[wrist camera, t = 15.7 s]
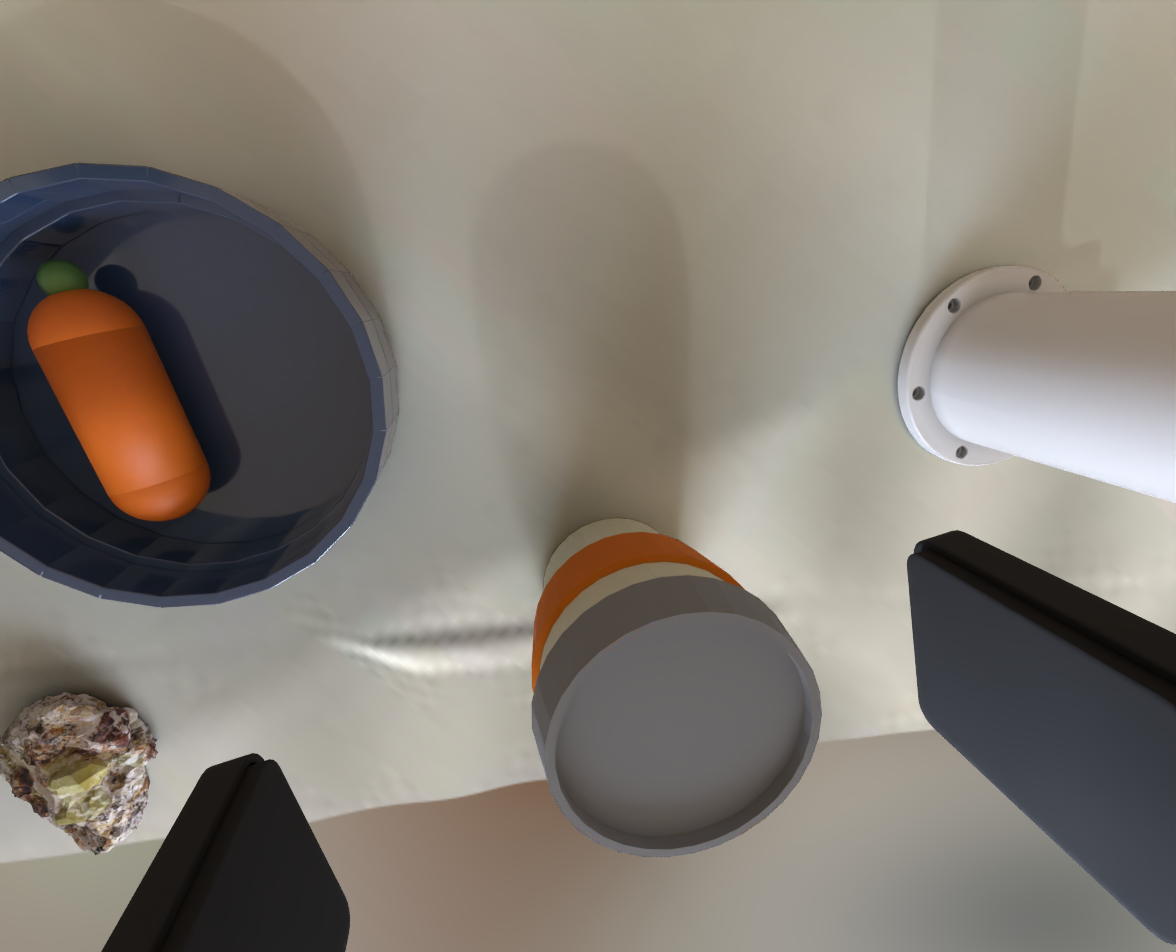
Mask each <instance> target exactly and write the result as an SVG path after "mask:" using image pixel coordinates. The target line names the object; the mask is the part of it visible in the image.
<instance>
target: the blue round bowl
mask: <svg viewBox="0 0 1176 952" xmlns="http://www.w3.org/2000/svg"><path fill="white" fill-rule="evenodd" d="M50 260H65V261H69V262H71V263H73V264H75V265H77V266H78V267H79V268H81V269H82V270H83V271H84V273H85V274H86V276H87V278H88V282H89V287H88V289H92V290H97V291H102V292H105V293H107V294H110V295H112V296H115V297H116V298H118V299H120V300H122V301H123V302H125V303H126V304H127V305H128V306H130V307H131V308H132V309H133V310H134V311H135V312H136V313H137V315H138V316H139V317H140V318H141V320H142V322H143V323H144V325H145V327H146V329H147V331H148V333H149V335H150V337H151V340H152V342H153V344H154V346H155V348H156V351H157V353H158V355H159V357H160V359H161V361H162V364H163V366H164V368H165V370H166V372H167V375H168V377H169V379H170V381H171V383H172V385H173V388H174V390H175V392H176V394H177V396H178V398H179V401H180V403H181V405H182V407H183V409H184V412H185V414H186V416H187V418H188V420H189V422H190V425H191V427H192V429H193V431H194V433H195V436H196V438H197V440H198V442H199V444H200V446H201V449H202V451H203V453H204V455H205V457H206V460H207V462H208V465H209V468H210V475H211V481H210V487H209V490H208V492H207V495H206V496H205V498H204V499H203V501H202V502H201V503H200V504H199V505H198V506H197V507H196V508H195V509H194V510H192V511H191V512H189V513H188V514H186V515H184V516H182V517H179V518H176V519H173V520H167V521H146V520H142V519H138V518H135V517H133V516H130V515H128V514H127V513H125V512H123V511H122V510H120V509H119V508H118V507H117V506H116V505H115V504H114V503H113V502H112V501H111V499H110V498H109V496H108V495H107V493H106V491H105V489H104V487H103V485H102V483H101V481H100V480H99V478H98V476H97V474H96V472H95V470H94V468H93V466H92V464H91V462H90V460H89V459H88V457H87V455H86V453H85V451H84V449H83V447H82V445H81V443H80V441H79V439H78V437H77V436H76V434H75V432H74V430H73V428H72V426H71V424H70V422H69V420H68V418H67V416H66V414H65V413H64V411H63V409H62V407H61V405H60V403H59V401H58V399H57V397H56V395H55V393H54V391H53V390H52V388H51V386H50V384H49V382H48V380H47V378H46V376H45V374H44V372H43V370H42V368H41V367H40V365H39V363H38V361H37V359H36V357H35V355H34V353H33V351H32V349H31V346H30V344H29V341H28V334H27V328H28V321H29V318H30V316H31V313H32V311H33V310H34V309H35V307H36V306H37V305H38V303H40V302H41V301H42V300H44V299H45V298H46V297H48V295H47V294H46V293H44V292H43V291H42V290H41V288H40V287H39V285H38V283H37V279H36V274H37V271H38V269H39V267H40V266H41V265H42V264H43V263H45V262H47V261H50ZM398 415H399V397H398V382H397V367H396V362H395V359H394V356H393V353H392V351H391V348H390V345H389V342H388V339H387V336H386V333H385V330H384V327H383V324H382V321H381V319H380V317H379V315H378V313H377V312H376V310H375V309H374V307H373V306H372V304H371V303H370V301H369V300H368V298H367V296H366V295H365V293H364V292H363V290H362V289H361V287H360V286H359V284H358V283H357V281H356V280H355V278H354V276H353V275H352V274H351V272H350V271H349V270H347V269H346V268H345V267H344V266H343V265H342V264H341V263H340V262H339V261H338V260H337V259H336V258H335V257H334V256H333V255H332V254H331V253H330V252H328V251H327V250H326V249H325V248H324V247H323V246H322V245H321V244H320V243H319V242H318V241H317V240H316V239H315V238H314V237H313V236H311V235H310V234H309V233H307V232H305V231H303V230H302V229H300V228H298V227H297V226H295V225H293V224H291V223H290V222H288V221H286V220H285V219H283V218H281V217H279V216H278V215H276V214H274V213H273V212H271V211H269V210H267V209H266V208H264V207H262V206H260V205H258V204H255V203H253V202H251V201H248V200H246V199H244V198H241V197H239V196H237V195H234V194H232V193H229V192H227V191H225V190H222V189H220V188H218V187H215V186H212V185H208V184H205V183H202V182H199V181H195V180H192V179H189V178H185V177H182V176H179V175H176V174H172V173H169V172H166V171H162V170H159V169H156V168H153V167H147V166H134V165H114V164H95V163H72V164H68V165H63V166H59V167H54V168H50V169H45V170H41V171H36V172H32V173H27V174H23V175H18V176H14V177H10V178H8V179H5V180H4V181H2V182H0V551H1V552H3V553H4V554H6V555H8V556H9V557H11V558H12V559H14V560H16V561H17V562H19V563H20V564H22V565H24V566H25V567H27V568H28V569H30V570H31V571H33V572H35V573H36V574H38V575H41V576H42V577H44V578H47V579H49V580H52V581H55V582H58V583H60V584H63V585H66V586H68V587H71V588H74V589H76V590H79V591H82V592H84V593H87V594H90V595H93V596H95V597H98V598H100V597H101V598H102V599H108V600H115V601H121V602H128V603H134V604H141V605H147V606H154V607H161V608H163V607H179V606H196V605H212V604H220V603H224V602H227V601H230V600H234V599H237V598H241V597H244V596H248V595H251V594H254V593H258V592H261V591H265V590H268V589H271V588H273V587H275V586H276V585H278V584H280V583H282V582H283V581H285V580H287V579H288V578H290V577H292V576H294V575H295V574H297V573H299V572H300V571H302V570H304V569H306V568H307V567H309V566H311V565H312V564H314V563H316V561H318V560H319V559H320V558H321V557H322V556H323V555H324V554H325V553H326V552H327V551H328V550H329V549H330V548H331V547H332V546H333V545H334V544H335V543H336V542H337V541H338V540H339V539H340V538H341V537H342V535H343V534H344V533H345V532H346V531H347V530H348V529H349V528H350V527H351V526H352V525H353V523H354V521H355V519H356V517H357V516H358V514H359V512H360V510H361V508H362V506H363V504H364V503H365V501H366V499H367V497H368V495H369V493H370V492H371V490H372V488H373V486H374V484H375V482H376V480H377V478H378V477H379V475H380V473H381V471H382V469H383V467H384V465H385V463H386V461H387V459H388V457H389V455H390V453H391V448H392V443H393V439H394V434H395V429H396V425H397V420H398Z"/></svg>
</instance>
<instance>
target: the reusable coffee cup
mask: <svg viewBox="0 0 1176 952" xmlns="http://www.w3.org/2000/svg"><path fill="white" fill-rule="evenodd" d="M532 688H533V692H534V695H533V700H532V729H533V733H534V736H535V740H536V744H537V748H538V751H539V755H540V758H541V761H542V765H543V768H544V771H545V774H546V778H547V781H548V784H549V788H550V791H551V794H552V796H553V798H554V800H555V801H556V803H557V805H558V806H559V808H560V810H561V812H562V814H563V815H564V816H565V817H566V818H567V819H568V820H569V821H570V823H572V825H573V826H574V827H575V828H576V829H577V830H578V831H579V832H581V833H582V834H584V835H585V836H587V837H588V838H590V839H592V840H593V841H594V842H596V843H597V844H600V845H603V846H605V847H607V848H610V849H613V850H615V851H617V852H621V853H626V854H631V855H637V856H642V857H671V856H678V855H685V854H692V853H696V852H699V851H702V850H706V849H709V848H712V847H715V846H718V845H721V844H723V843H725V842H727V841H729V840H731V839H733V838H735V837H737V836H739V835H741V834H743V833H745V832H746V831H748V830H749V829H750V828H752V827H753V826H755V825H756V824H758V823H759V822H761V821H762V820H764V819H765V818H766V817H767V816H768V815H769V814H770V813H771V812H773V810H775V809H776V808H777V807H778V806H779V805H780V804H781V803H782V802H783V801H784V800H785V799H786V798H787V796H788V795H789V794H790V793H791V791H792V790H793V789H794V787H795V786H796V785H797V783H798V782H799V781H800V779H801V777H802V776H803V774H804V772H805V770H806V768H807V766H808V765H809V763H810V761H811V759H812V756H813V753H814V750H815V747H816V744H817V741H818V738H819V731H820V724H821V716H822V712H821V701H820V691H819V688H818V685H817V682H816V679H815V676H814V673H813V670H812V669H811V667H810V665H809V664H808V662H807V661H806V659H805V657H804V656H803V654H802V653H801V651H800V650H799V648H798V647H797V645H796V644H795V642H794V641H793V639H792V638H791V636H790V635H789V633H788V632H787V631H786V629H785V628H784V626H783V625H782V623H781V622H780V620H779V619H778V617H777V616H776V614H775V613H774V612H773V611H772V610H770V609H769V608H768V607H767V606H766V605H765V604H764V603H763V602H762V601H761V600H760V599H759V598H758V597H756V596H754V595H753V594H751V593H749V592H748V591H746V590H745V589H744V588H743V587H742V586H741V585H740V584H739V583H738V582H737V581H736V580H735V579H733V578H732V577H731V576H730V575H729V574H728V573H727V572H725V571H724V570H722V569H721V568H719V567H718V566H717V565H715V564H714V563H712V562H711V561H710V560H708V559H707V558H705V557H704V556H702V555H701V554H700V553H698V552H697V551H695V550H694V549H692V548H691V547H689V546H687V545H686V544H684V543H683V542H681V541H679V540H677V539H674V538H671V537H668V536H665V535H662V534H660V533H659V532H657V531H656V530H654V529H653V528H651V527H649V526H648V525H646V524H643V523H641V522H638V521H635V520H630V519H622V518H615V519H604V520H600V521H596V522H592V523H590V524H588V525H586V526H584V527H581V528H579V529H578V530H577V531H575V532H574V533H572V534H571V535H569V536H568V537H567V538H566V539H565V540H564V541H563V542H562V543H561V544H560V545H559V546H558V548H557V549H556V551H555V552H554V554H553V555H552V557H551V559H550V561H549V563H548V566H547V568H546V572H545V577H544V582H543V593H542V596H541V598H540V601H539V603H538V606H537V611H536V616H535V621H534V636H533V652H532Z"/></svg>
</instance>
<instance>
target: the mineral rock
mask: <svg viewBox="0 0 1176 952" xmlns="http://www.w3.org/2000/svg"><path fill="white" fill-rule="evenodd" d="M137 714H138V712H137V710H135V709H133V708H131V707H123V708H122V709H120V708H119V707H109V708H108V707H107V706H106V704H105V702H103V701H100V700H98V699H96V698H95V697H90V696H89V695H88V694H79V695H73V694H70V693H68V692H64V693H62V694H61V695H57V696H54V697H51V696H47V697H42V698H41V699H40V700H39V701H37V702H35V703H34V704H32V705H29V706H27V707H23V708H22V709H21V711H20V712H19V714H18V716H17V718H16V719H15V720H14V722H13V723H12V724H11V726H10V727H9V728H8V729H7V731H6V732H5V733H4V735H3V736H2V738H1V739H0V742H1V745H0V775H1V776H6V781H7V782H8V783H10V785H11V787H12V793H13V794H14V797H18V798H20V799H22V800H24V801H27V802H29V803H30V804H31V805H32V808H33V811H34V812H35V813H38V814H39V815H40V816H41V817H42V818H44V819H46V820H47V821H48V822H50V823H51V824H52V825H54V826H55V827H59V828H60V829H62V830H64V831H65V833H68V835H70V836H72V837H73V839H74V841H75V842H76V844H77V845H78V846H79V847H80V848H81V849H82V850H84V851H92V852H94V853H95V855H97V854H100V853H107V852H108V851H109V850H111V849H112V848H113V847H114V846H116V845H117V844H118V843H119V842H121V841H123V840H124V839H125V838H126V837H127V836H128V835H129V834H130V833H131V832H132V831H133V830H135V829H137V828H136V827H137V825H138V824H139V823H140V822H141V819H142V814H143V809H144V808H145V807H146V805H147V799H148V796H147V791H148V788H149V783H150V781H149V778H148V775H147V772H146V771H147V769H146V765H145V764H147V763H148V761H149V760H150V759H151V758H156V755H157V753H158V752H157V751H156V749H155V746H156V744H155V742H156V741H157V740H156V739H155V738H154V737H153V736H152V734H151V733H150V732H149V730H150V728H149V726H148V724H144V722H143V721H142V720H141V719H138V718H137Z"/></svg>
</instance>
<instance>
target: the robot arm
mask: <svg viewBox="0 0 1176 952" xmlns="http://www.w3.org/2000/svg"><path fill="white" fill-rule="evenodd" d="M898 400H899V404H900V409H901V413H902V417H903V419H904V421H905V423H906V425H907V428H908V430H909V432H910V433H911V434H912V435H913V437H914V438H915V439H916V441H917V442H918V443H919V444H920V445H921V446H922V447H924V448H925V449H926V450H927V451H928V452H930V453H931V454H933V455H936V456H938V457H940V458H942V459H944V460H947V461H950V462H953V463H956V464H960V465H970V466H980V465H989V464H994V463H997V462H1000V461H1003V460H1006V459H1009V458H1011V457H1013V456H1014V455H1015V456H1018V457H1022V458H1025V459H1028V460H1032V461H1035V462H1038V463H1042V464H1045V465H1049V466H1052V467H1055V468H1059V469H1062V470H1065V471H1069V472H1072V473H1076V474H1079V475H1082V476H1086V477H1089V478H1092V479H1096V480H1099V481H1102V482H1106V483H1109V484H1113V485H1116V486H1119V487H1123V488H1126V489H1129V490H1133V491H1136V492H1140V493H1143V494H1146V495H1150V496H1153V497H1156V498H1160V499H1163V500H1167V501H1170V502H1173V503H1176V291H1096V292H1068V291H1067V290H1066V289H1065V288H1064V287H1063V286H1062V285H1061V284H1060V283H1059V282H1058V281H1057V280H1056V279H1054V278H1053V277H1051V276H1049V275H1048V274H1046V273H1045V272H1043V271H1040V270H1037V269H1034V268H1030V267H1026V266H998V267H990V268H986V269H982V270H979V271H975V272H973V273H971V274H969V275H967V276H965V277H963V278H961V279H959V280H957V281H955V282H954V283H953V284H951V285H950V286H949V287H947V288H946V289H945V290H943V291H942V292H941V293H940V294H939V295H938V296H937V297H936V298H935V299H934V300H933V301H932V302H931V303H930V304H929V305H928V306H927V307H926V309H925V310H924V312H923V313H922V315H921V316H920V317H919V319H918V320H917V322H916V323H915V325H914V327H913V329H912V331H911V333H910V335H909V337H908V339H907V341H906V344H905V347H904V351H903V354H902V357H901V361H900V367H899V374H898ZM907 571H908V583H909V594H910V606H911V618H912V629H913V641H914V652H915V664H916V675H917V687H918V699H919V704H920V707H921V710H922V712H923V714H924V716H925V718H926V719H927V721H928V722H929V723H930V724H931V726H932V727H933V728H934V729H935V730H936V731H937V732H939V733H940V734H941V735H942V736H943V737H944V738H945V739H946V740H947V741H948V742H949V743H950V744H952V746H953V747H955V748H956V749H957V750H958V751H959V752H960V753H961V754H962V755H963V756H964V757H965V758H966V759H967V760H968V761H969V762H971V763H972V764H973V765H974V766H975V767H976V768H977V769H978V770H979V771H980V772H981V773H982V774H983V775H984V776H985V777H986V778H988V779H989V780H990V781H991V782H992V783H993V784H994V785H995V786H996V787H997V788H998V789H999V790H1000V791H1001V792H1002V793H1004V795H1006V796H1007V797H1008V798H1009V799H1010V800H1011V801H1012V802H1013V803H1014V804H1015V805H1016V806H1017V807H1018V808H1019V809H1020V810H1022V811H1023V812H1024V813H1025V814H1026V815H1027V816H1028V817H1029V818H1030V819H1031V820H1032V821H1033V822H1034V823H1035V824H1036V825H1038V826H1039V827H1040V828H1041V829H1042V830H1043V831H1044V832H1045V833H1046V834H1047V835H1048V836H1049V837H1050V838H1051V839H1052V840H1053V841H1055V842H1056V843H1057V844H1058V845H1059V846H1060V847H1061V848H1062V849H1063V850H1064V851H1065V852H1066V853H1067V854H1069V856H1070V857H1071V858H1073V859H1074V860H1075V861H1076V862H1077V863H1078V864H1079V865H1080V866H1081V867H1082V868H1083V869H1084V870H1085V871H1086V872H1087V873H1089V874H1090V875H1091V876H1092V877H1093V878H1094V879H1095V880H1096V881H1097V882H1098V883H1099V884H1100V885H1101V886H1102V887H1104V888H1105V889H1106V890H1107V891H1108V892H1109V893H1110V894H1111V895H1112V896H1113V897H1114V898H1115V899H1116V900H1117V901H1119V903H1121V905H1123V906H1124V907H1125V908H1126V909H1127V910H1128V911H1129V912H1130V913H1131V914H1132V915H1133V916H1134V917H1135V918H1136V919H1138V920H1139V921H1140V922H1141V923H1142V924H1143V925H1144V926H1145V927H1146V928H1147V929H1148V930H1149V931H1150V932H1152V933H1153V934H1154V935H1155V936H1157V937H1158V938H1160V939H1161V940H1163V941H1165V942H1166V943H1170V944H1176V634H1174V633H1172V632H1170V631H1168V630H1166V629H1164V628H1162V627H1160V626H1158V625H1156V624H1154V623H1151V622H1149V621H1147V620H1145V619H1143V618H1141V617H1139V616H1137V615H1135V614H1133V613H1131V612H1129V611H1127V610H1124V609H1122V608H1120V607H1118V606H1116V605H1114V604H1112V603H1110V602H1108V601H1106V600H1104V599H1102V598H1100V597H1098V596H1095V595H1093V594H1091V593H1089V592H1087V591H1085V590H1083V589H1081V588H1079V587H1077V586H1075V585H1073V584H1071V583H1068V582H1066V581H1064V580H1062V579H1060V578H1058V577H1056V576H1054V575H1052V574H1050V573H1048V572H1046V571H1044V570H1042V569H1039V568H1037V567H1035V566H1033V565H1031V564H1029V563H1027V562H1025V561H1023V560H1021V559H1019V558H1017V557H1015V556H1013V555H1010V554H1008V553H1006V552H1004V551H1002V550H1000V549H998V548H996V547H994V546H992V545H990V544H988V543H986V542H983V541H981V540H979V539H977V538H975V537H973V536H971V535H969V534H967V533H965V532H962V531H958V530H956V531H951V532H948V533H944V534H941V535H938V536H935V537H932V538H929V539H925V540H922V541H920V542H918V543H917V544H916V546H915V549H914V554H911V555H910V556H909V557H908V560H907ZM349 928H350V914H349V907H348V902H347V900H346V897H345V895H344V893H343V891H342V890H341V887H340V885H339V883H338V881H337V879H336V878H335V875H334V873H333V871H332V869H331V867H330V866H329V864H328V861H327V859H326V857H325V856H324V853H323V852H322V850H321V848H320V846H319V844H318V842H317V840H316V838H315V836H314V834H313V832H312V830H311V828H310V826H309V824H308V822H307V820H306V818H305V816H304V814H303V812H302V810H301V808H300V806H299V804H298V802H297V800H296V798H295V796H294V794H293V792H292V790H291V788H290V786H289V784H288V782H287V780H286V778H285V776H284V774H283V772H282V770H281V768H280V767H279V765H278V764H277V762H275V761H274V760H270V759H269V760H266V761H264V759H263V758H262V757H261V756H260V755H258V754H254V753H252V754H249V755H245V756H242V757H239V758H236V759H233V760H230V761H227V762H223V763H220V764H217V765H214V766H211V767H209V768H208V769H206V770H205V772H204V773H203V774H202V775H201V777H200V779H199V781H198V782H197V784H196V786H195V788H194V789H193V791H192V793H191V795H190V797H189V798H188V800H187V802H186V804H185V805H184V807H183V809H182V811H181V812H180V814H179V816H178V818H177V819H176V821H175V823H174V825H173V826H172V828H171V830H170V832H169V834H168V835H167V837H166V839H165V841H164V842H163V844H162V846H161V848H160V849H159V851H158V853H157V855H156V857H155V858H154V860H153V862H152V863H151V865H150V867H149V869H148V871H147V872H146V874H145V876H144V878H143V879H142V881H141V883H140V885H139V887H138V888H137V890H136V892H135V893H134V896H133V897H132V899H131V901H130V902H129V904H128V906H127V908H126V909H125V911H124V913H123V915H122V916H121V918H120V920H119V922H118V923H117V925H116V927H115V929H114V931H113V932H112V934H111V936H110V937H109V939H108V941H107V943H106V945H105V946H104V948H103V950H102V952H345V950H346V945H347V939H348V935H349Z"/></svg>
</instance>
